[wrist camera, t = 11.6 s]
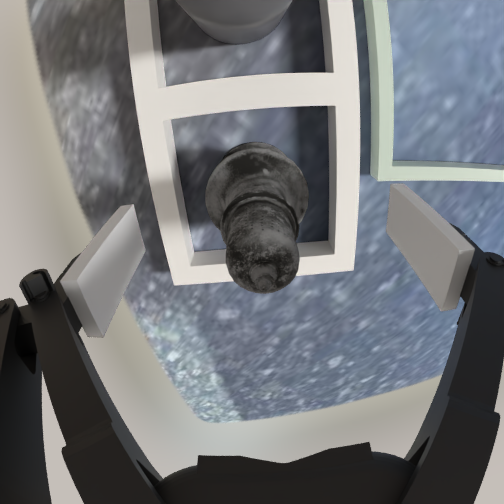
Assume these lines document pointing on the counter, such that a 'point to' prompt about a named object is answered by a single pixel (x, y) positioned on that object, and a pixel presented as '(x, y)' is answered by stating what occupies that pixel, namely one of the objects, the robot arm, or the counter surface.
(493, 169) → the pale green square frame
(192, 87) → the double square frame
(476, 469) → the robot arm
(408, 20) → the counter surface
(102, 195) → the counter surface
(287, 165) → the grey chess piece
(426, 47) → the counter surface
